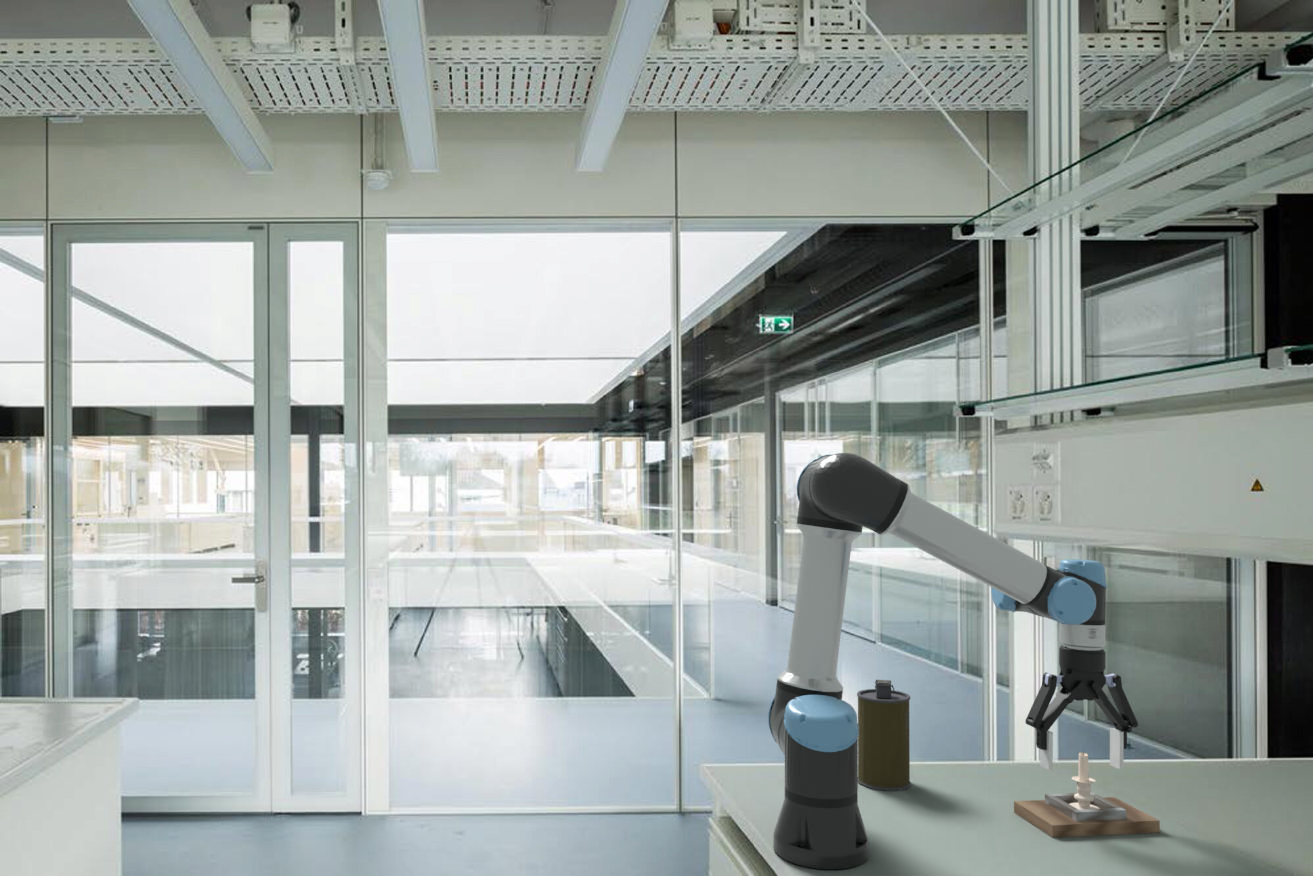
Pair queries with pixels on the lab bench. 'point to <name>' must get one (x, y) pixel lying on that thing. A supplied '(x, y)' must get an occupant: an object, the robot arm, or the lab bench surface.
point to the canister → (883, 738)
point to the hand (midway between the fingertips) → (1081, 767)
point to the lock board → (1085, 816)
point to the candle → (1083, 785)
